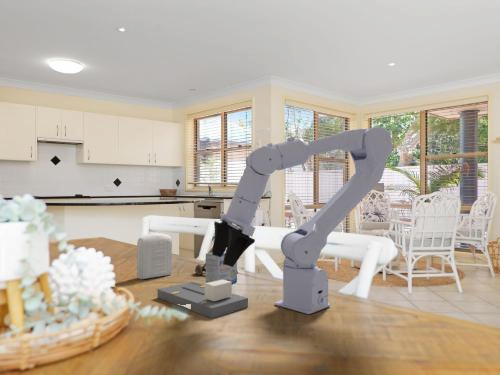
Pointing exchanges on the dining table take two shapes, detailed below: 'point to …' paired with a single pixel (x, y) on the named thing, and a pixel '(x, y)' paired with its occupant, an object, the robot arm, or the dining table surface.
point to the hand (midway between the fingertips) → (221, 260)
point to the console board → (201, 299)
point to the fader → (218, 290)
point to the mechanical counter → (201, 269)
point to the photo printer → (154, 256)
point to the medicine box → (219, 269)
